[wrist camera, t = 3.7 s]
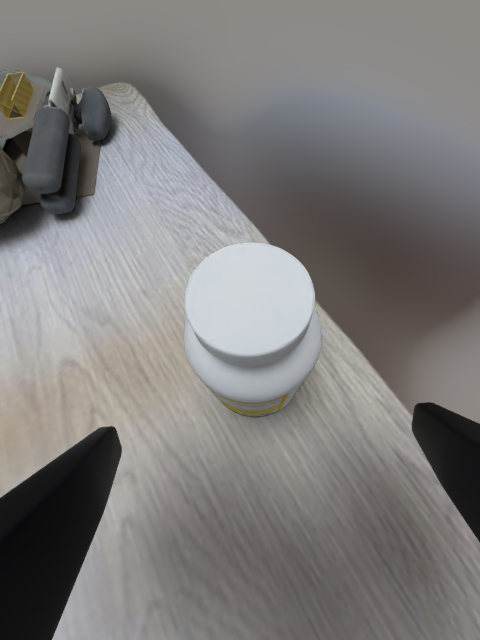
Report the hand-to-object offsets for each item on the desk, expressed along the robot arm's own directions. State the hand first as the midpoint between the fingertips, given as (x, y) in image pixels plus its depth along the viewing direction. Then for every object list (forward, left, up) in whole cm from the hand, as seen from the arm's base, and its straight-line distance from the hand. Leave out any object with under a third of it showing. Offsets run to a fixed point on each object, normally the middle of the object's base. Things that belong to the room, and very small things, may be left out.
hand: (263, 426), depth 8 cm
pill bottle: (+3, -3, -11) cm, 12 cm away
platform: (+40, -9, -11) cm, 43 cm away
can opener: (+37, -8, -8) cm, 38 cm away
